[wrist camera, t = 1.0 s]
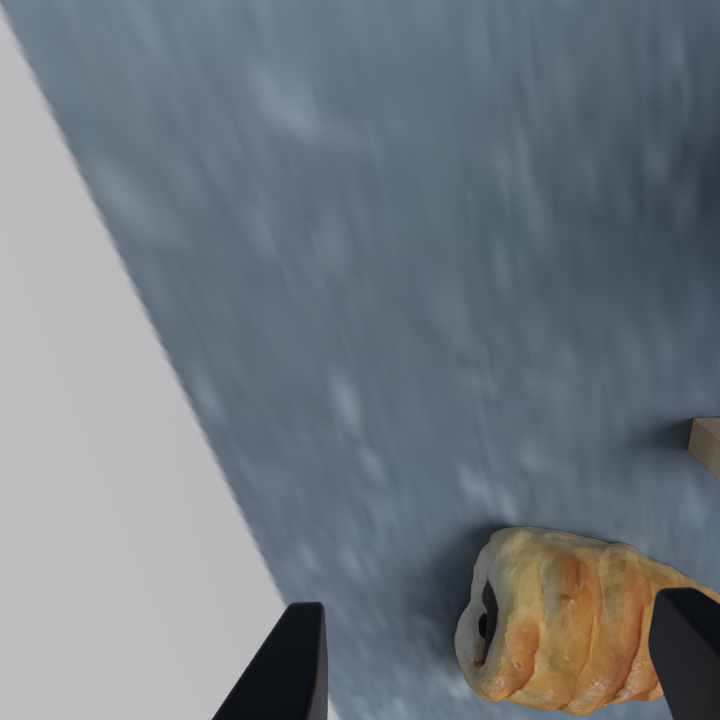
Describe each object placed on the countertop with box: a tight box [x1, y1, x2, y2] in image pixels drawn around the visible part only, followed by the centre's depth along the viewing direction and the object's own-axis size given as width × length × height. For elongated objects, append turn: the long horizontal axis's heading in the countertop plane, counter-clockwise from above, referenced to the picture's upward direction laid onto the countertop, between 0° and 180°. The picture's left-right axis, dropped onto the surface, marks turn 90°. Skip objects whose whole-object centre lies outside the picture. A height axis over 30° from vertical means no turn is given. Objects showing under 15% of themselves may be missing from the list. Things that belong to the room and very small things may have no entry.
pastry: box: [454, 527, 720, 716], centre depth 21 cm, size 9×7×4 cm
